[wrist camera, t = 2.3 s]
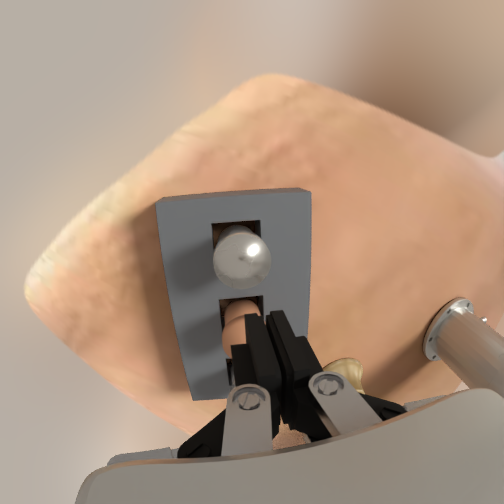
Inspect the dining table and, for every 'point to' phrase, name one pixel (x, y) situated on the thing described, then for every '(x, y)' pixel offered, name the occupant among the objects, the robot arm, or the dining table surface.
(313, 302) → the dining table surface
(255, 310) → the peach grooved knob
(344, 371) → the hand bell
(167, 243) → the panel
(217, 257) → the ball
